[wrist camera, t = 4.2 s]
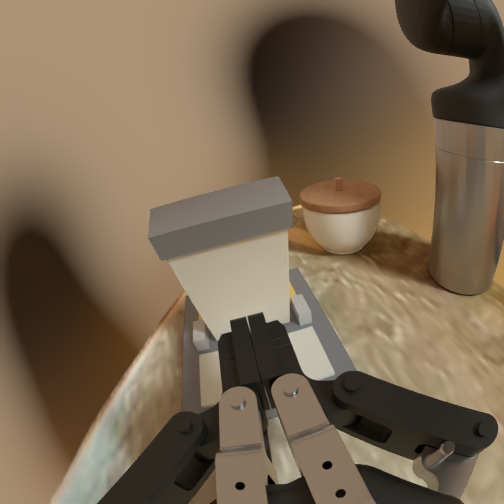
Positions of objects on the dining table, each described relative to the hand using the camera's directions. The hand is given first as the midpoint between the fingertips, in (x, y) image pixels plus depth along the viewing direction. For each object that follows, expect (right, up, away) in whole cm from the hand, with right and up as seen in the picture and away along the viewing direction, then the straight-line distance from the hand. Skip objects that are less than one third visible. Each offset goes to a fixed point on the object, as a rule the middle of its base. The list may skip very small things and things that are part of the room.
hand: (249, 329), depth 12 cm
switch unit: (+1, -5, +11) cm, 12 cm away
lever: (0, -2, +10) cm, 10 cm away
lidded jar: (+13, +4, +25) cm, 28 cm away
